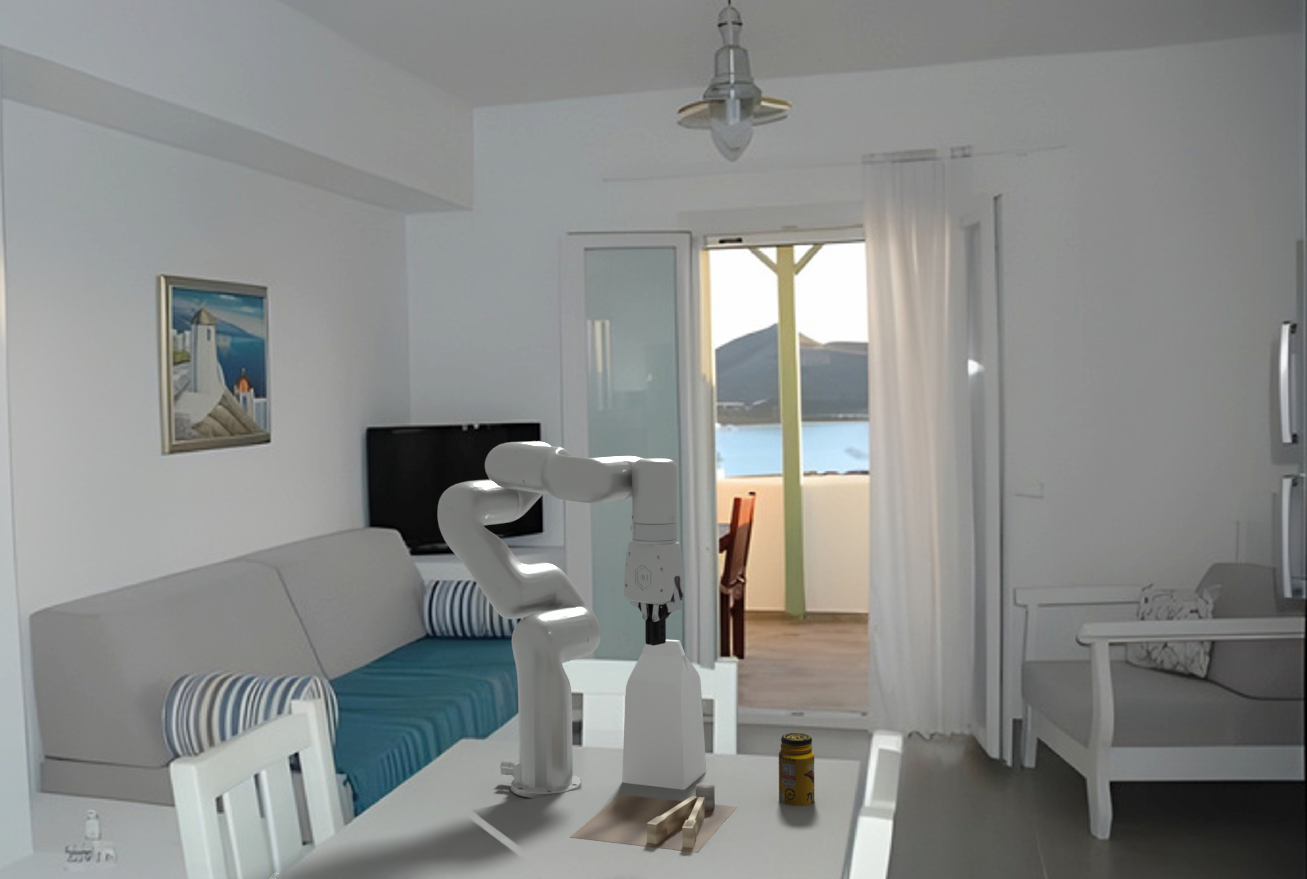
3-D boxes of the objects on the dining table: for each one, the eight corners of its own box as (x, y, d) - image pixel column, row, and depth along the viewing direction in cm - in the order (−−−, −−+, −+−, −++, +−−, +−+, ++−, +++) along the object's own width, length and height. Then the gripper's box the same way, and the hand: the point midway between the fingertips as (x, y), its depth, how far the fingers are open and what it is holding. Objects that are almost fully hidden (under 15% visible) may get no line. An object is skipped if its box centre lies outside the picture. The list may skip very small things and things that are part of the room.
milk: (621, 788, 222) (620, 643, 221) (646, 770, 232) (644, 632, 232) (684, 795, 217) (683, 648, 216) (706, 776, 228) (705, 636, 227)
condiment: (825, 807, 210) (825, 737, 210) (786, 817, 205) (786, 745, 205) (797, 796, 216) (797, 728, 216) (759, 805, 212) (758, 736, 211)
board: (569, 843, 194) (569, 837, 194) (620, 800, 215) (620, 794, 215) (697, 858, 187) (697, 852, 187) (737, 812, 208) (737, 806, 208)
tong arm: (690, 813, 204) (689, 795, 204) (698, 815, 204) (698, 797, 204) (646, 842, 191) (646, 823, 191) (656, 844, 191) (655, 824, 191)
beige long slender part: (697, 803, 209) (697, 782, 209) (715, 804, 209) (715, 783, 209) (677, 846, 189) (677, 823, 189) (697, 848, 189) (697, 824, 189)
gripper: (607, 532, 207) (608, 641, 208) (671, 538, 197) (672, 653, 197) (639, 528, 213) (640, 634, 213) (703, 534, 202) (704, 646, 203)
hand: (655, 643), depth 205 cm, fingers closed
